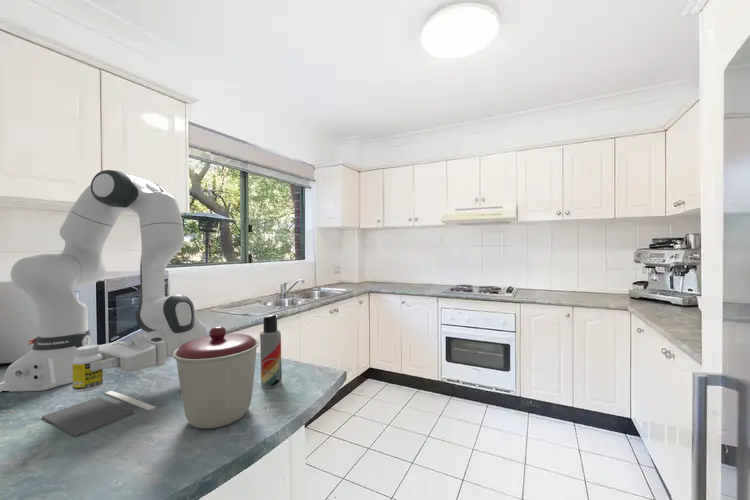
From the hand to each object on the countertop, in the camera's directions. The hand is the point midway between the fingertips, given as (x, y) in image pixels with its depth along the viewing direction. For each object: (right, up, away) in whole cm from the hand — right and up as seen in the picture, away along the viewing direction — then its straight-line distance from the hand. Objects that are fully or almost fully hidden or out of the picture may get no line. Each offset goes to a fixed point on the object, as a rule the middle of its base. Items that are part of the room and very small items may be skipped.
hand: (83, 365), depth 76 cm
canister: (+33, -12, -1) cm, 35 cm away
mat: (+1, -12, +1) cm, 12 cm away
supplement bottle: (+1, -6, +1) cm, 6 cm away
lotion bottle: (+39, -12, +16) cm, 44 cm away
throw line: (+5, -12, +8) cm, 15 cm away
